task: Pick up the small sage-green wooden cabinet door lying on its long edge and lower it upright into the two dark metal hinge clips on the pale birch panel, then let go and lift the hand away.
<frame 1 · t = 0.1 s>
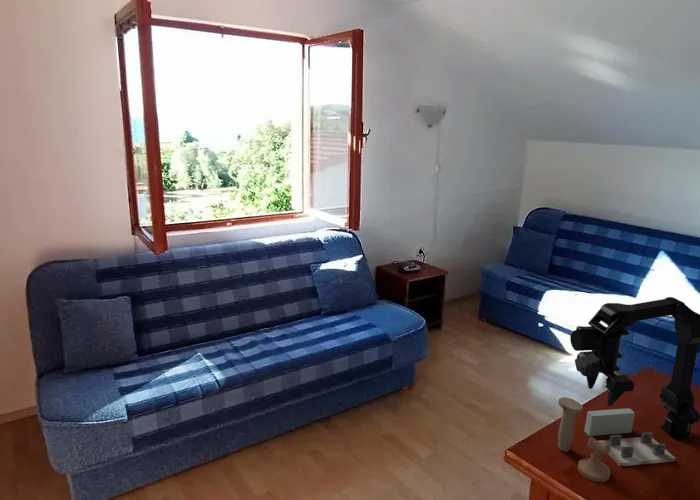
hand: (599, 396, 151), 14 cm above the table, tool pointing down, fingers open, 9 cm apart
door knob: (593, 472, 141), on the table
handle: (563, 449, 150), on the table
cabinet panel: (635, 452, 149), on the table
cabinet door: (607, 432, 159), on the table
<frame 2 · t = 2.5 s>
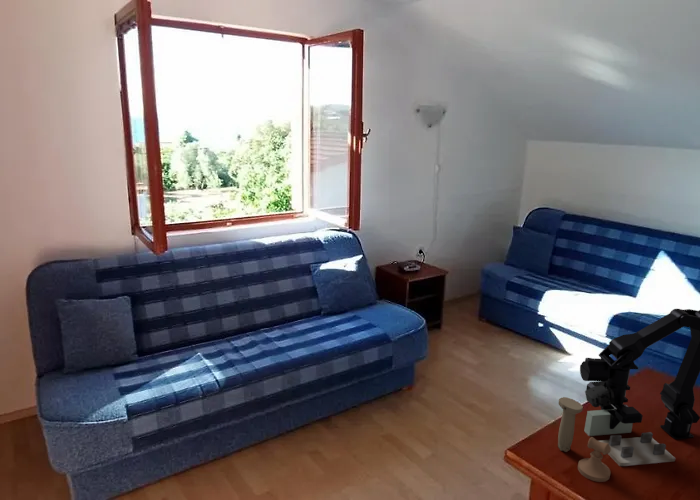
hand: (608, 425, 158), 2 cm above the table, tool pointing down, fingers closed on cabinet door, 2 cm apart
cabinet door: (607, 431, 159), on the table, touching gripper
everything else where it was.
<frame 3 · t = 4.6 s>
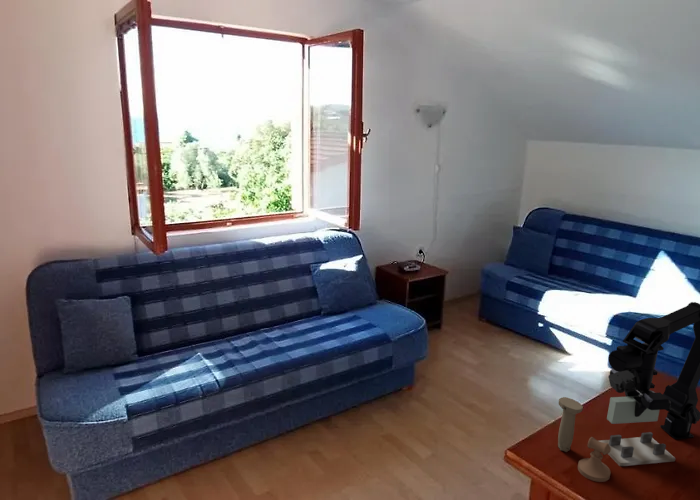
hand: (633, 413, 149), 11 cm above the table, tool pointing down, fingers closed on cabinet door, 2 cm apart
cabinet door: (631, 419, 150), point 9 cm above the table, touching gripper
everything else where it was.
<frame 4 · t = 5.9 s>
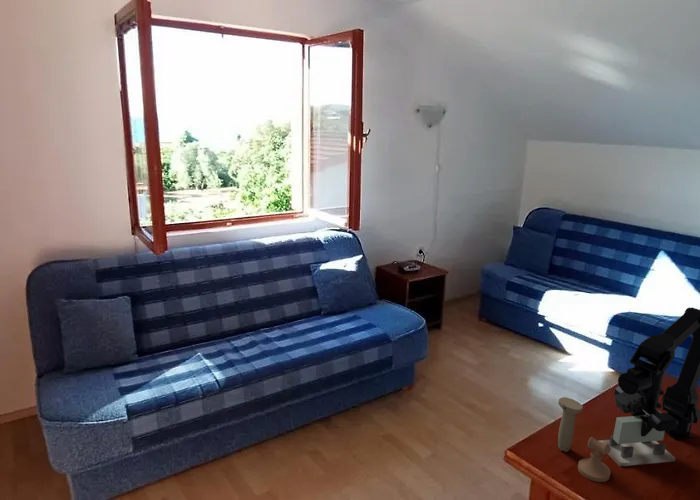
hand: (639, 433, 148), 6 cm above the table, tool pointing down, fingers closed on cabinet door, 2 cm apart
cabinet door: (637, 439, 148), point 4 cm above the table, touching gripper
everything else where it was.
when the fingers open (4 cm above the table, at t = 7.0 s): cabinet door drops 1 cm, resting on cabinet panel.
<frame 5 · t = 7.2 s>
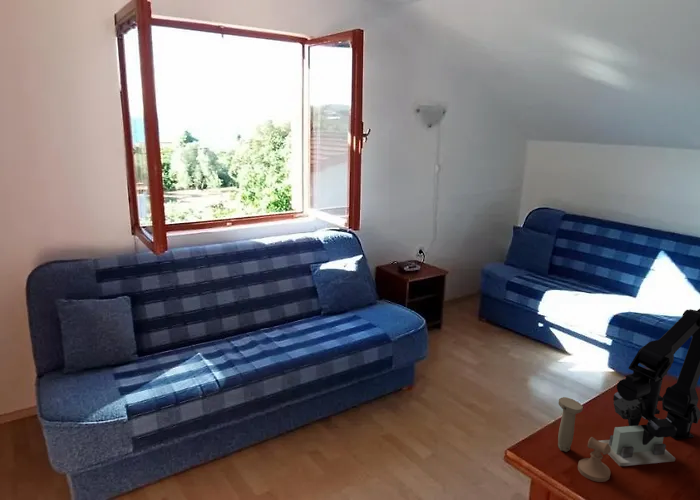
hand: (638, 438, 148), 4 cm above the table, tool pointing down, fingers open, 5 cm apart
cabinet door: (635, 449, 149), point 1 cm above the table, touching cabinet panel
everything else where it was.
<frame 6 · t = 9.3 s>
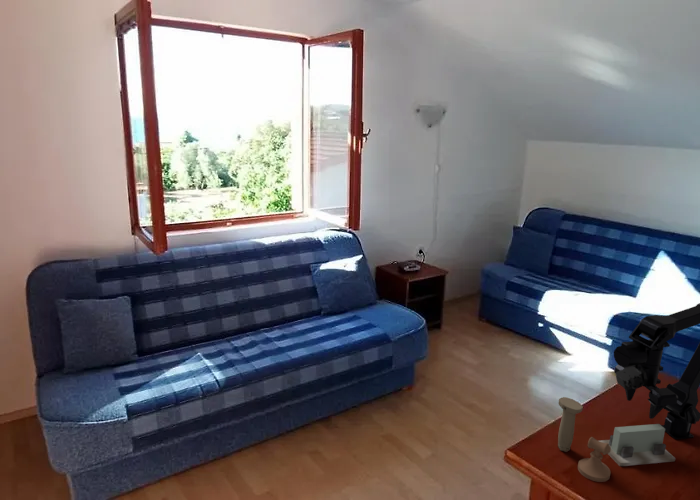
hand: (639, 409, 151), 11 cm above the table, tool pointing down, fingers open, 9 cm apart
nothing on the table moved.
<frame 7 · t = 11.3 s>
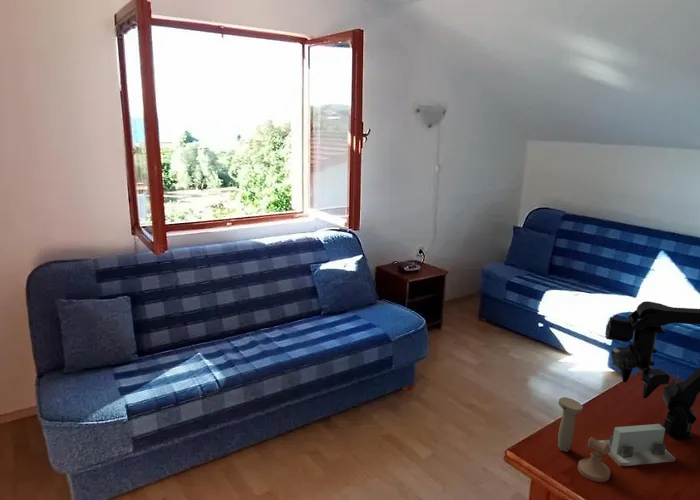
hand: (634, 389, 160), 12 cm above the table, tool pointing down, fingers open, 9 cm apart
nothing on the table moved.
at the end: cabinet door 0.1 cm off-centre on the cabinet panel, point 1.0 cm above the cabinet panel's base; cabinet door tilted 0°; the gripper is holding nothing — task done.
